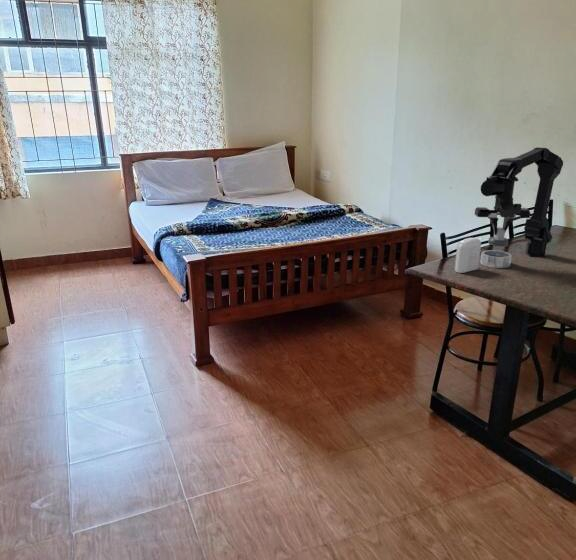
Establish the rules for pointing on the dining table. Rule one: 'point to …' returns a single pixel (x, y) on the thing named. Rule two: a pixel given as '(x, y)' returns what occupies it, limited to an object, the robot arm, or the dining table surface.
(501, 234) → the grey knob
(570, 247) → the dining table surface
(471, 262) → the photo printer
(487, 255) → the faceted white dish
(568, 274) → the dining table surface
